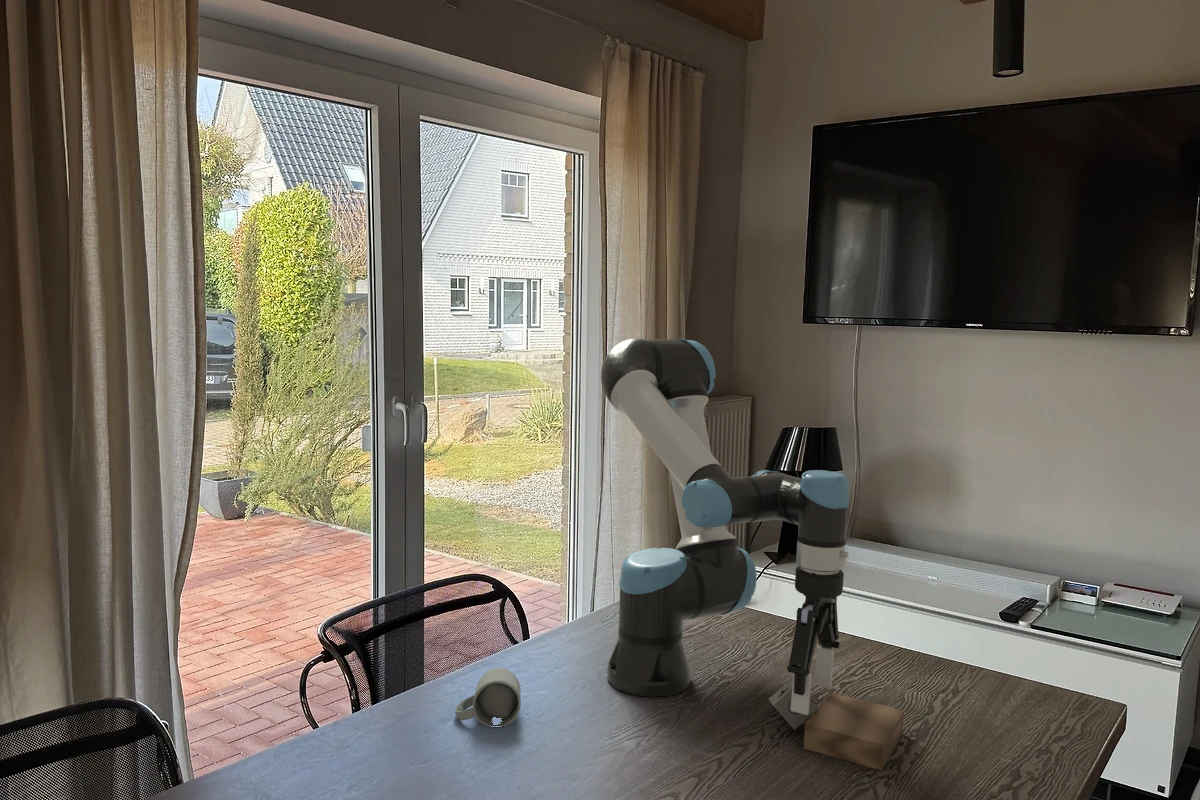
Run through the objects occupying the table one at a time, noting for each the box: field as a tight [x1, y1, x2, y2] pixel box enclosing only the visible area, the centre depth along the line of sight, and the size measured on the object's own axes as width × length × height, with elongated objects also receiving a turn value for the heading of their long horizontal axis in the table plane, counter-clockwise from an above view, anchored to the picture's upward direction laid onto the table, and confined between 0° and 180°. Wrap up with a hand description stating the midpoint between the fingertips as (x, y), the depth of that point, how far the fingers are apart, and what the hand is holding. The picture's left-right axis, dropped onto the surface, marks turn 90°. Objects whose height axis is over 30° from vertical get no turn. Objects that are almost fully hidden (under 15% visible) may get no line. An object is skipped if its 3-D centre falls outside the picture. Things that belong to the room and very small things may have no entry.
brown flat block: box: [803, 691, 905, 771], centre depth 144 cm, size 12×14×4 cm
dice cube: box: [768, 678, 818, 731], centre depth 148 cm, size 5×5×5 cm
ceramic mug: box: [454, 667, 522, 727], centre depth 148 cm, size 11×8×8 cm
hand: (811, 698), depth 147 cm, fingers open, 11 cm apart
